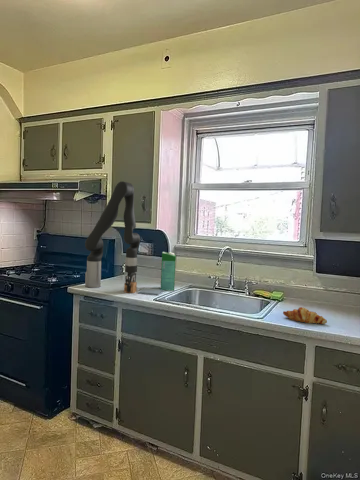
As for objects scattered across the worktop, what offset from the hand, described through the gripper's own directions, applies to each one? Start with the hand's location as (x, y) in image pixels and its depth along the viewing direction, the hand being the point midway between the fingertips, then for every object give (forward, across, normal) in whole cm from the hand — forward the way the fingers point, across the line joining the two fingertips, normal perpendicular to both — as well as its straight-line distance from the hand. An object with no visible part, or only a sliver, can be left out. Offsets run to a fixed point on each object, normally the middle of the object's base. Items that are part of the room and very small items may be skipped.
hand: (130, 290), depth 226 cm
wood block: (+1, 0, 0) cm, 1 cm away
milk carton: (+1, -18, +20) cm, 27 cm away
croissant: (+2, +28, +102) cm, 105 cm away
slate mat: (+1, -4, +12) cm, 13 cm away
